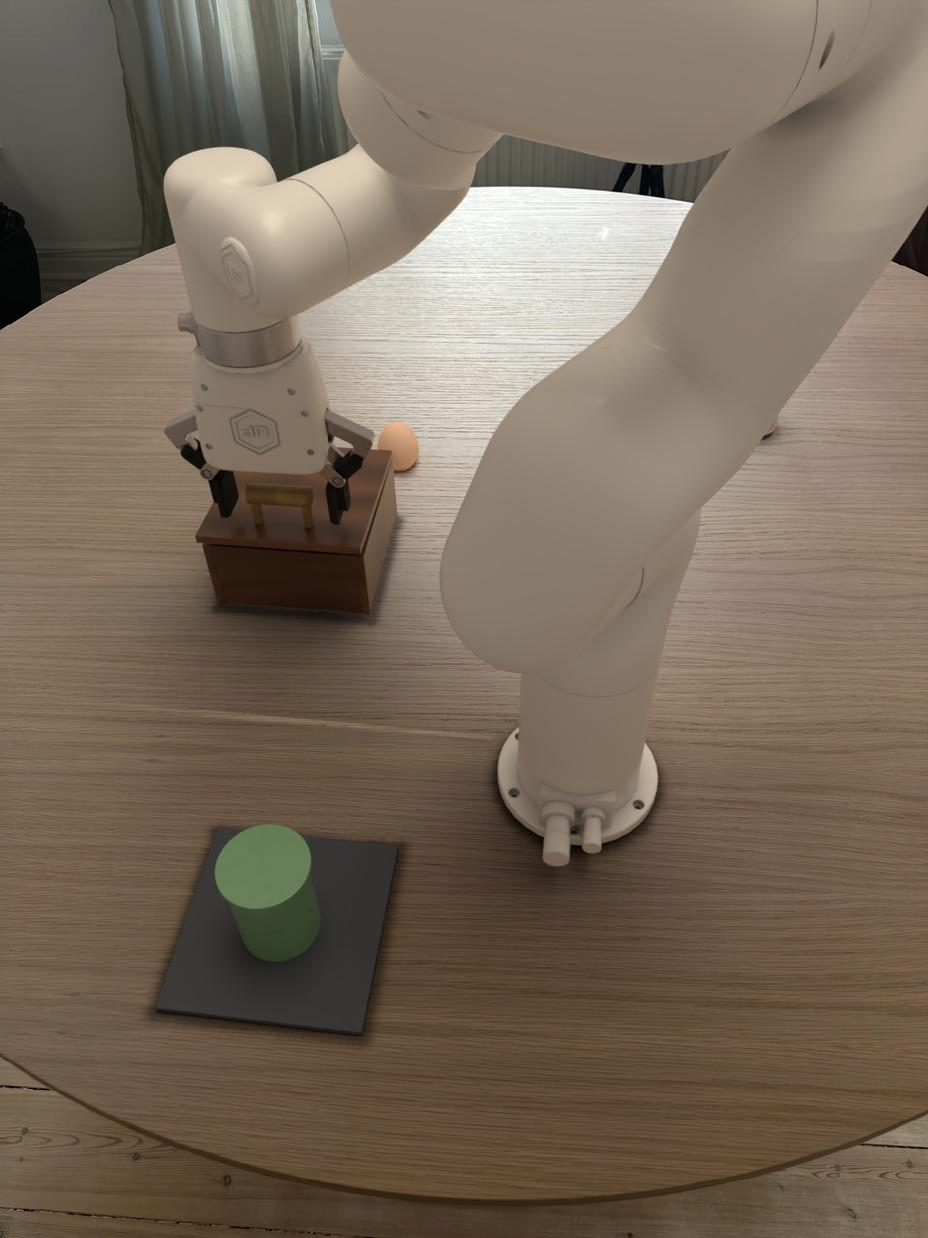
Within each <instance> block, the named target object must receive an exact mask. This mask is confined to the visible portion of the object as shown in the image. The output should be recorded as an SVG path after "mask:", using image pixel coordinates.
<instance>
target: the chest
mask: <svg viewBox="0 0 928 1238" xmlns="http://www.w3.org/2000/svg"><path fill="white" fill-rule="evenodd" d="M396 493H397V492H396V483H395V471H394V468H393V458H392V460H391V464H390V467H389V470H388V473H387V476H386V479H385V482H384V485H383V488H382V491H381V494H380V497H379V500H378V503H377V506H376V509H375V512H374V515H373V518H372V521H371V525H370V528H369V531H368V534H367V537H366V540H365V543H364V546H363V549H362V552H361V555H359V554H345V553H331V552H317V551H304V550H290V549H276V548H262V547H248V546H235V545H221V544H207V543H201V544H202V551H203V554H204V557H205V561H206V565H207V569H208V572H209V576H210V580H211V584H212V587H213V591H214V595H215V598H216V602H217V603H223V604H225V603H226V604H234V605H235V604H236V605H248V606H263V607H276V608H286V609H300V610H310V611H311V610H312V611H325V612H337V613H351V614H363V615H371V612H372V609H373V605H374V602H375V598H376V595H377V590H378V587H379V583H380V579H381V576H382V572H383V568H384V565H385V561H386V557H387V554H388V550H389V546H390V544H391V539H392V536H393V531H394V528H395V524H396V521H397V517H398V505H397V495H396Z"/></svg>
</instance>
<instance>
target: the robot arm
mask: <svg viewBox="0 0 928 1238" xmlns="http://www.w3.org/2000/svg"><path fill="white" fill-rule="evenodd" d="M329 3H330V8H331V11H332V15H333V18H334V19H333V20H334V23H335V24H334V25H335V27H336V30H337V32H338V36H339V38H340V40H341V42H342V44H343V47H344V51H343V53H342V55H341V58H340V61H339V64H338V70H337V81H336V87H337V96H338V103H339V106H340V110H341V113H342V116H343V118H344V121H345V123H346V126H347V128H348V130H349V131H350V133H351V134H352V137H353V138H354V139H355V141H356V142H357V144H356V145H355V146H353V147H352V148H351V149H350V150H349V151H347V152H346V153H344V154H342V155H340V156H338V157H335V158H333V159H330V160H327V161H325V162H322V163H320V164H318V165H314V166H313V167H311V168H308V169H306V170H303V171H300V172H299V173H296V174H294V175H291V176H289V177H287V178H285V179H282V180H280V181H278V180H277V176H276V173H275V171H274V168H273V166H272V164H270V162H269V161H268V160H267V159H266V158H265V157H264V156H262V154H260V153H258V152H256V151H253V150H250V149H247V148H241V147H235V146H234V147H233V146H217V147H208V148H203V149H198V150H195V151H192V152H190V153H187V154H185V155H184V154H183V155H182V156H181V157H178V158H177V159H175V160H174V161H173V162H172V163H171V164H170V165H169V166H168V168H167V169H166V171H165V174H164V177H163V195H164V199H165V204H166V208H167V212H168V217H169V221H170V225H171V229H172V233H173V237H174V242H175V246H176V250H177V251H176V252H177V254H178V258H179V262H180V263H179V264H180V267H181V271H182V274H183V279H184V284H185V288H186V292H187V296H188V301H189V305H190V308H191V311H189V312H188V313H187V312H186V313H185V312H180V313H179V314H178V315H177V328H178V330H179V331H180V332H183V333H189V334H191V335H193V336H194V338H195V342H196V346H195V347H194V348H193V349H192V351H191V355H190V372H191V373H190V375H191V388H192V400H193V409H192V410H190V411H187V412H185V413H183V414H181V415H179V416H177V417H174V418H172V419H170V420H169V421H168V423H167V425H166V426H165V428H164V430H163V433H164V435H165V436H166V437H167V439H168V440H169V441H170V442H171V444H173V446H174V447H175V448H176V449H178V450H179V451H180V456H181V457H182V458H183V459H184V460H185V461H186V462H188V463H189V464H191V465H192V466H193V467H195V468H196V469H197V470H198V471H199V475H200V477H201V478H202V479H204V480H206V481H207V482H208V485H209V490H210V494H211V497H212V501H213V502H214V503H217V504H218V507H219V511H220V515H221V518H228V517H230V516H231V514H232V512H233V510H234V507H235V505H236V503H237V501H238V499H239V493H238V489H237V485H236V481H235V476H234V472H233V471H241V472H257V473H275V474H295V475H309V474H315V473H319V474H321V475H322V476H323V477H324V478H325V479H326V480H327V481H328V482H327V485H326V488H325V492H326V499H327V505H328V512H329V518H330V523H332V524H333V525H339V524H340V521H341V518H342V515H343V512H344V511H348V510H349V508H350V503H351V497H350V490H349V482H348V479H349V478H350V477H351V476H352V475H353V474H355V473H356V472H357V471H358V470H359V469H360V468H361V467H362V464H363V462H364V460H365V459H366V457H367V455H368V453H369V451H370V449H372V447H373V445H374V441H375V439H376V433H375V432H374V431H373V430H371V429H370V428H368V427H365V426H363V425H361V424H359V423H357V422H355V421H352V420H351V419H349V418H346V417H344V416H342V415H340V414H338V413H336V412H334V411H332V409H331V404H330V400H329V396H328V392H327V388H326V384H325V380H324V377H323V373H322V370H321V367H320V365H319V362H318V359H317V356H316V354H315V351H314V348H313V347H312V343H311V341H310V340H309V338H308V337H307V336H304V335H302V333H301V326H300V321H299V314H302V313H304V312H306V311H307V310H310V309H312V308H313V307H315V306H317V305H319V304H321V303H323V302H324V301H327V300H328V299H330V298H332V297H334V296H336V295H338V294H339V293H340V292H342V291H344V290H347V289H348V288H350V287H352V286H354V285H355V284H358V283H359V282H361V281H363V280H365V279H367V278H369V277H372V276H373V275H375V274H377V273H379V272H381V271H383V270H385V269H387V268H389V267H391V266H393V265H394V264H396V263H397V262H399V261H400V260H402V259H403V258H405V257H406V256H407V255H408V254H410V253H411V252H412V251H413V250H414V249H416V248H417V247H418V246H419V245H420V244H421V243H422V242H423V241H424V240H426V239H427V238H428V237H429V236H430V235H431V234H432V233H433V232H434V231H435V230H436V229H437V228H438V227H439V226H440V225H441V224H442V223H443V222H444V221H445V220H447V218H449V216H450V215H451V214H452V213H453V212H454V211H455V210H456V209H457V208H458V206H460V205H461V203H462V202H463V200H464V199H465V198H466V196H467V195H468V193H469V191H470V188H471V186H472V183H473V180H474V178H475V177H474V176H475V174H476V169H477V163H478V162H479V161H480V160H481V159H482V158H483V157H484V156H485V154H486V153H487V152H489V151H490V150H491V148H492V147H493V146H494V145H495V144H497V142H498V141H499V140H500V139H501V138H502V137H503V136H504V135H505V136H509V137H514V138H519V139H522V140H527V141H532V142H534V143H539V144H544V145H548V146H553V147H558V148H562V149H566V150H570V151H573V152H574V151H575V152H579V153H583V154H587V155H590V156H595V157H598V158H604V159H609V160H612V161H619V162H623V163H629V164H638V165H639V164H640V165H651V166H653V165H654V166H656V165H657V166H663V165H664V166H665V165H675V164H683V163H691V162H696V161H699V160H703V159H707V158H710V157H713V156H715V155H719V154H721V153H724V152H726V151H728V152H727V154H726V156H725V157H724V158H723V160H722V161H721V163H720V164H719V166H718V167H717V168H716V170H715V171H714V173H713V174H712V175H711V177H710V178H709V180H707V182H706V183H705V185H704V186H703V188H702V189H701V191H700V192H699V194H698V195H697V197H696V199H695V200H694V202H693V204H692V205H691V207H690V208H689V210H688V211H687V214H686V215H685V216H684V218H683V221H682V222H681V225H680V227H679V229H678V231H677V234H676V235H675V238H674V240H673V242H672V244H671V247H670V249H669V250H668V252H667V254H666V255H665V258H664V259H663V261H662V263H661V265H660V266H659V268H658V269H657V272H656V273H655V275H654V276H653V279H652V280H651V282H650V284H649V285H648V287H647V288H646V290H645V292H644V293H643V295H642V296H641V298H640V299H639V300H638V302H637V303H636V304H635V305H634V307H633V308H632V309H631V311H630V312H629V313H628V314H627V315H626V316H625V317H623V319H622V320H621V321H620V322H619V323H617V324H616V325H614V327H612V328H610V330H608V331H607V332H606V333H604V334H603V335H601V337H599V338H597V339H596V340H595V341H593V342H592V343H591V344H590V345H588V346H586V348H584V349H582V351H580V352H578V353H577V354H576V355H574V356H572V357H571V358H570V359H568V360H567V361H565V362H564V363H563V364H562V365H560V366H559V367H557V368H556V369H554V370H553V371H552V372H550V373H549V374H547V375H546V376H545V377H543V378H542V379H541V380H539V381H538V382H537V383H535V384H534V385H533V386H532V387H531V388H529V390H527V391H526V392H525V393H524V394H523V395H522V396H521V397H520V398H519V399H518V401H516V403H514V405H513V406H512V407H510V410H509V411H508V412H507V413H506V414H505V416H504V417H503V418H502V420H501V421H500V423H499V424H498V426H497V427H496V428H495V430H494V432H493V434H492V435H491V437H490V439H489V441H488V443H487V445H486V447H485V450H484V451H483V454H482V456H481V458H480V461H479V463H478V465H477V467H476V470H475V472H474V475H473V478H472V479H471V482H470V484H469V486H468V489H467V491H466V493H465V496H464V498H463V500H462V503H461V505H460V507H459V509H458V512H457V514H456V517H455V519H454V520H453V524H452V526H451V528H450V531H449V533H448V535H447V538H446V541H445V544H444V547H443V549H442V554H441V558H440V564H439V579H438V580H439V590H440V597H441V601H442V606H443V608H444V613H445V614H446V617H447V620H448V622H449V624H450V626H451V628H452V629H453V631H454V633H455V635H456V636H457V637H458V639H459V640H460V642H461V643H462V644H463V645H464V647H466V648H467V649H468V650H469V652H470V653H472V654H473V656H475V657H476V658H478V659H480V660H481V661H482V662H484V663H485V664H487V665H489V666H491V667H493V668H496V669H497V670H501V671H504V672H508V673H510V674H511V673H512V674H517V675H520V687H519V690H520V691H519V710H518V712H519V713H518V714H519V715H518V726H517V727H516V728H515V729H514V730H513V731H512V732H511V734H510V735H509V736H508V738H507V739H506V740H505V742H504V744H503V745H502V748H501V750H500V753H499V755H498V761H497V784H498V789H499V793H500V796H501V798H502V800H503V803H504V804H505V806H506V808H507V809H508V810H509V812H510V813H511V815H512V816H513V817H514V818H515V819H516V820H517V821H518V822H519V823H520V824H521V825H523V826H524V827H525V828H527V829H528V830H530V831H531V832H533V833H535V834H536V835H538V836H539V837H542V838H544V839H543V849H542V850H543V851H542V861H543V862H544V863H545V864H546V865H548V866H552V867H564V866H566V865H568V864H569V862H570V856H571V855H570V854H571V846H581V848H582V851H583V852H585V853H588V854H597V853H600V852H601V850H602V844H605V843H608V842H612V841H616V840H617V839H619V838H621V837H623V836H625V835H628V834H629V833H631V832H632V831H633V830H634V829H636V828H637V827H638V826H639V825H641V824H642V822H643V821H644V820H645V819H646V817H647V816H648V815H649V813H650V811H651V809H652V808H653V804H654V803H655V799H656V795H657V792H658V785H659V783H658V782H659V773H658V767H657V762H656V760H655V757H654V754H653V752H652V750H651V749H650V747H649V746H648V744H647V742H646V741H647V740H646V739H647V734H648V729H649V725H650V724H649V723H650V719H651V713H652V708H653V703H654V697H655V692H656V687H657V681H658V677H659V676H658V675H659V671H660V666H661V662H662V659H663V653H664V647H665V642H666V637H667V633H668V629H669V624H670V620H671V617H672V613H673V610H674V606H675V603H676V600H677V597H678V594H679V591H680V588H681V586H682V583H683V581H684V578H685V576H686V574H687V570H688V567H689V564H690V562H691V559H692V557H693V554H694V551H695V547H696V545H697V541H698V538H699V532H700V526H701V521H702V508H703V506H705V505H706V504H707V503H708V502H709V501H710V500H711V499H712V498H713V497H714V496H715V495H716V494H717V493H718V492H719V491H720V490H721V489H722V488H723V487H724V486H725V485H726V484H727V483H729V481H730V480H731V479H732V478H733V477H734V476H735V475H736V474H737V473H738V472H739V471H740V469H741V468H742V467H743V466H744V464H745V463H746V462H747V461H748V460H749V458H750V457H751V456H752V454H753V453H754V452H755V450H756V448H757V447H758V445H759V444H760V442H761V441H762V439H763V437H764V436H765V435H764V434H765V433H766V431H767V430H768V428H769V427H770V425H771V424H772V423H773V421H774V420H775V418H776V417H777V415H778V416H779V414H780V413H781V411H782V409H783V408H784V407H785V405H786V404H787V403H788V402H789V400H790V399H791V398H792V396H793V395H794V394H795V393H796V391H797V390H798V388H799V387H800V386H801V384H802V383H803V382H804V380H805V379H806V378H807V377H808V375H809V374H810V372H811V371H812V370H813V369H814V367H815V366H816V365H817V363H818V362H820V360H821V358H822V357H823V356H824V354H825V353H826V352H827V350H828V349H829V348H830V346H832V344H833V342H834V341H835V339H836V338H837V336H838V335H839V334H840V332H841V330H842V329H843V328H844V326H845V324H846V323H847V321H848V320H849V318H850V317H851V316H852V315H853V313H854V312H855V311H856V309H857V308H858V307H859V305H860V304H861V302H862V301H863V299H864V298H865V297H866V295H867V294H868V293H869V291H870V290H871V288H872V287H873V286H874V285H875V284H876V282H877V280H878V279H879V278H880V277H881V275H882V274H883V273H884V271H885V270H886V268H887V267H888V265H889V264H890V263H891V262H892V260H893V259H894V257H895V256H896V254H897V253H898V252H899V250H900V249H901V247H902V246H903V244H904V243H905V242H906V240H907V239H908V237H909V235H910V234H912V233H911V232H912V231H913V230H914V228H915V226H917V223H918V222H919V220H920V218H921V217H922V215H923V214H924V212H925V211H926V209H927V207H928V0H329ZM195 431H197V434H198V438H197V437H193V434H192V433H193V432H195ZM335 438H338V439H340V440H341V441H344V442H346V443H348V444H350V445H351V446H352V447H351V448H352V449H351V450H350V451H349V452H348V453H347V454H346V455H344V454H343V453H342V452H341V451H340V450H339V449H338V448H337V447H338V446H336V445H335V444H334V440H335ZM328 460H329V461H330V462H331V463H332V464H331V463H330V462H329V461H328Z"/></svg>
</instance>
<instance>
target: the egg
mask: <svg viewBox="0 0 928 1238" xmlns="http://www.w3.org/2000/svg"><path fill="white" fill-rule="evenodd" d="M376 445H377V450H391V451H392V456H393V457H392V458H393V468H394V472H403V471H406V470H409V469H410V468H411V467H413V466H414V464H415V463H416V461H417V460H418V457H419V454H420V453H419V452H420V446H419V441H418V437H417V435H416V433H414V431H413V429H412V428H411V427H410V426H409V425H407V424H406V423H404V422H402V421H401V422H400V421H394V422H391V423H388V424H387V425H386V426H384V428H383V429H382V431H381V432H380V434H379V437H378V440H377V444H376Z"/></svg>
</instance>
